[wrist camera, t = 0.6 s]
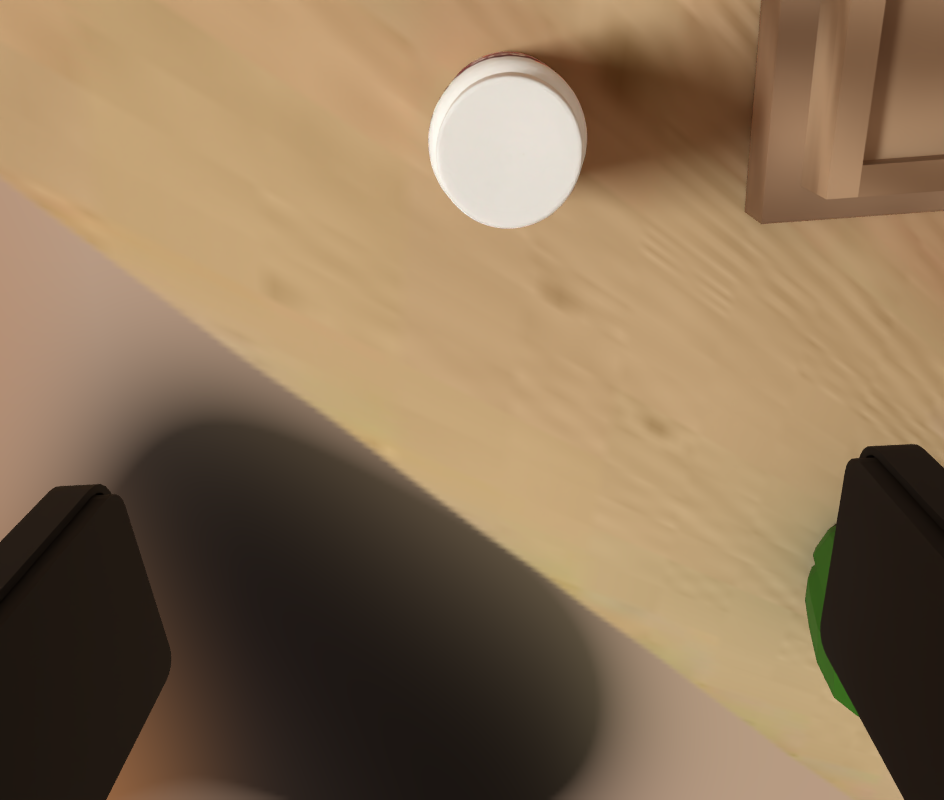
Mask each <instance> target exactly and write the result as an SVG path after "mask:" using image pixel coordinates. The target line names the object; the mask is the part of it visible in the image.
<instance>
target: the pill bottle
mask: <svg viewBox="0 0 944 800" xmlns="http://www.w3.org/2000/svg"><path fill="white" fill-rule="evenodd" d="M428 142H429V155H430V160H431V165H432V168H433V171H434V174H435V176H436V178H437V180H438V182H439V184H440V186H441V188H442V189H443V191H444V192H445V193H446V195H447V196H448V197H449V198H450V199H451V200H452V201H453V203H454V204H455V205H456V206H457V207H458V208H459V209H460V210H461V211H462V212H463V213H465V214H466V215H467V216H469V217H470V218H472V219H474V220H475V221H477V222H480V223H482V224H485V225H488V226H491V227H496V228H506V229H508V228H520V227H525V226H529V225H532V224H535V223H537V222H539V221H541V220H543V219H545V218H547V217H549V216H550V215H551V214H553V213H554V212H555V211H556V210H557V209H558V208H559V207H560V206H561V205H562V204H563V203H564V202H565V201H566V199H567V198H568V197H569V195H570V194H571V192H572V191H573V189H574V187H575V185H576V183H577V180H578V177H579V175H580V171H581V168H582V165H583V162H584V159H585V155H586V148H587V127H586V121H585V117H584V113H583V111H582V108H581V105H580V103H579V101H578V99H577V97H576V95H575V93H574V92H573V90H572V89H571V88H570V86H569V85H568V84H567V83H566V81H565V80H564V79H563V78H562V77H561V76H560V75H558V74H557V73H556V72H555V71H554V70H552V69H551V68H550V67H549V66H547V65H546V64H544V63H543V62H541V61H539V60H538V59H536V58H534V57H532V56H529V55H526V54H523V53H518V52H495V53H491V54H488V55H485V56H482V57H480V58H478V59H476V60H474V61H473V62H471V63H470V64H469V65H467V66H466V67H465V68H464V69H462V70H461V71H460V72H459V73H458V74H457V76H456V77H455V78H454V79H453V80H452V82H451V83H450V84H449V86H448V87H447V88H446V90H445V91H444V93H443V94H442V96H441V97H440V99H439V101H438V103H437V105H436V107H435V110H434V113H433V115H432V118H431V123H430V128H429V138H428Z"/></svg>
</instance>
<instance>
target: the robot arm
mask: <svg viewBox="0 0 944 800" xmlns="http://www.w3.org/2000/svg"><path fill="white" fill-rule="evenodd" d="M820 636H821V641H822V645H823V649H824V651H825V654H826V656H827V658H828V660H829V661H830V663H831V665H832V667H833V669H834V671H835V673H836V674H837V676H838V678H839V680H840V682H841V684H842V685H843V687H844V689H845V691H846V693H847V695H848V697H849V698H850V700H851V702H852V704H853V706H854V708H855V709H856V711H857V713H858V715H859V717H860V719H861V721H862V722H863V724H864V726H865V728H866V730H867V732H868V733H869V735H870V737H871V739H872V741H873V743H874V745H875V746H876V748H877V750H878V752H879V754H880V756H881V757H882V759H883V761H884V763H885V765H886V767H887V769H888V770H889V772H890V774H891V776H892V778H893V780H894V781H895V783H896V785H897V787H898V789H899V791H900V793H901V794H902V796H903V798H904V800H944V468H943V467H942V466H941V465H940V464H939V463H938V462H937V461H936V460H935V459H934V458H933V457H932V456H931V455H929V454H928V453H927V452H926V451H925V450H924V449H923V448H922V447H920V446H919V445H915V444H907V445H887V446H868V447H866V448H865V449H864V450H863V451H862V453H861V454H860V457H859V458H855V459H851V460H850V461H849V462H848V464H847V466H846V470H845V475H844V481H843V487H842V493H841V500H840V506H839V512H838V518H837V524H836V530H835V536H834V543H833V549H832V555H831V561H830V567H829V573H828V579H827V586H826V592H825V598H824V604H823V610H822V616H821V622H820ZM170 667H171V651H170V647H169V643H168V640H167V637H166V634H165V631H164V628H163V624H162V621H161V618H160V615H159V612H158V608H157V605H156V602H155V599H154V596H153V593H152V589H151V586H150V583H149V580H148V577H147V574H146V570H145V567H144V564H143V561H142V558H141V554H140V551H139V548H138V545H137V542H136V539H135V535H134V532H133V529H132V526H131V523H130V519H129V516H128V513H127V510H126V507H125V504H124V502H123V500H122V498H121V497H120V496H118V495H115V494H112V495H111V492H110V491H109V490H108V489H107V487H106V486H103V485H101V484H96V485H74V486H59V487H55V488H53V489H52V490H51V491H49V492H48V493H47V494H46V495H45V496H44V497H43V498H42V500H40V501H39V503H38V504H37V505H36V506H35V507H34V508H33V509H32V510H31V511H30V512H29V513H28V514H27V515H26V516H25V517H24V518H23V519H22V520H21V521H20V522H19V523H18V524H17V525H16V526H15V527H14V528H13V529H12V530H11V531H10V533H8V535H7V536H6V537H5V538H4V539H3V540H2V541H1V542H0V800H106V799H107V797H108V795H109V793H110V791H111V789H112V787H113V785H114V783H115V781H116V779H117V777H118V775H119V773H120V771H121V769H122V767H123V765H124V763H125V761H126V759H127V757H128V755H129V753H130V751H131V749H132V747H133V745H134V743H135V741H136V739H137V738H138V736H139V734H140V732H141V729H142V727H143V725H144V724H145V722H146V720H147V718H148V716H149V713H150V712H151V709H152V708H153V706H154V704H155V702H156V700H157V698H158V696H159V694H160V692H161V690H162V688H163V686H164V684H165V682H166V680H167V677H168V675H169V671H170Z"/></svg>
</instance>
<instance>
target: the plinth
mask: <svg viewBox="0 0 944 800" xmlns="http://www.w3.org/2000/svg"><path fill="white" fill-rule="evenodd" d="M934 211H944V0H761V11H760V24H759V36H758V49H757V62H756V75H755V87H754V100H753V113H752V126H751V138H750V151H749V164H748V176H747V189H746V202H745V212H746V213H747V214H749V215H750V216H751V217H753V218H754V219H755V220H757V221H758V222H759V223H761V224H768V223H782V222H795V221H809V220H823V219H837V218H851V217H865V216H878V215H892V214H906V213H920V212H934Z"/></svg>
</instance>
